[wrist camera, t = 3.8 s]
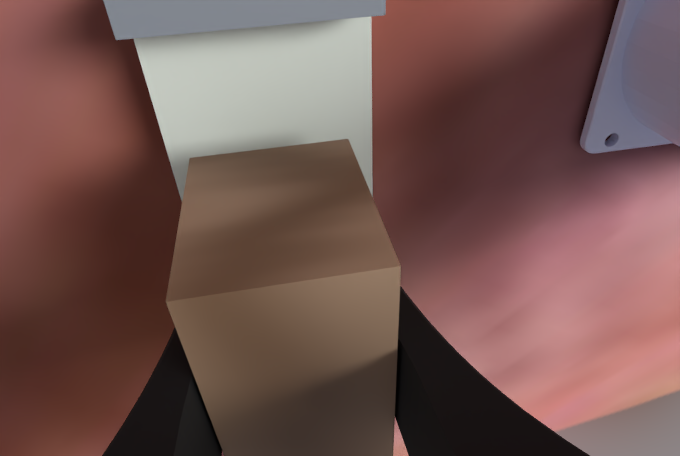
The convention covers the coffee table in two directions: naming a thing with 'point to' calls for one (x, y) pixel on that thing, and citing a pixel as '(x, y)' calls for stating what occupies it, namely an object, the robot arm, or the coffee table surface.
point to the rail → (254, 73)
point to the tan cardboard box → (288, 302)
